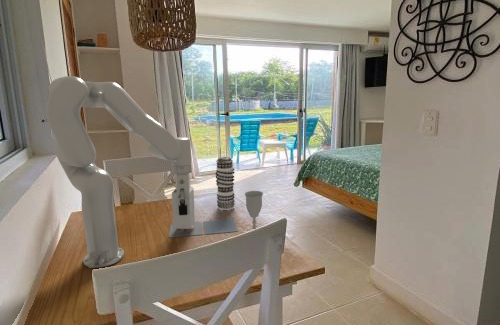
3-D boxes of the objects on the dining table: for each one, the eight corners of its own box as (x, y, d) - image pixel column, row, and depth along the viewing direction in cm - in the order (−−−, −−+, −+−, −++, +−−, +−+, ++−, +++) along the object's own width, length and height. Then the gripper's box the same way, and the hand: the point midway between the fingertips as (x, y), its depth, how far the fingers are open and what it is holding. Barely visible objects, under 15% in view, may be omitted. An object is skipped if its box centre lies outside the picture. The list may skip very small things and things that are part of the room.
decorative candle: (238, 209, 150) (236, 158, 145) (219, 212, 147) (217, 160, 141) (232, 203, 158) (230, 155, 153) (214, 205, 155) (212, 156, 150)
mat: (237, 231, 125) (237, 231, 125) (205, 234, 123) (204, 234, 123) (233, 219, 138) (233, 218, 138) (203, 221, 135) (203, 221, 135)
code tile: (202, 234, 123) (202, 234, 123) (168, 237, 121) (168, 237, 120) (201, 222, 135) (201, 221, 135) (170, 224, 133) (170, 224, 133)
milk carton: (194, 222, 130) (193, 178, 127) (190, 229, 123) (189, 183, 120) (178, 222, 131) (176, 178, 127) (173, 229, 124) (171, 182, 120)
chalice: (257, 244, 114) (256, 197, 110) (241, 240, 118) (240, 195, 114) (266, 236, 120) (266, 192, 117) (251, 233, 124) (251, 189, 120)
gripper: (191, 173, 115) (193, 218, 118) (191, 164, 131) (192, 203, 135) (170, 174, 113) (172, 219, 117) (173, 164, 130) (175, 204, 133)
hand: (183, 210), depth 126 cm, fingers closed on milk carton, 8 cm apart
